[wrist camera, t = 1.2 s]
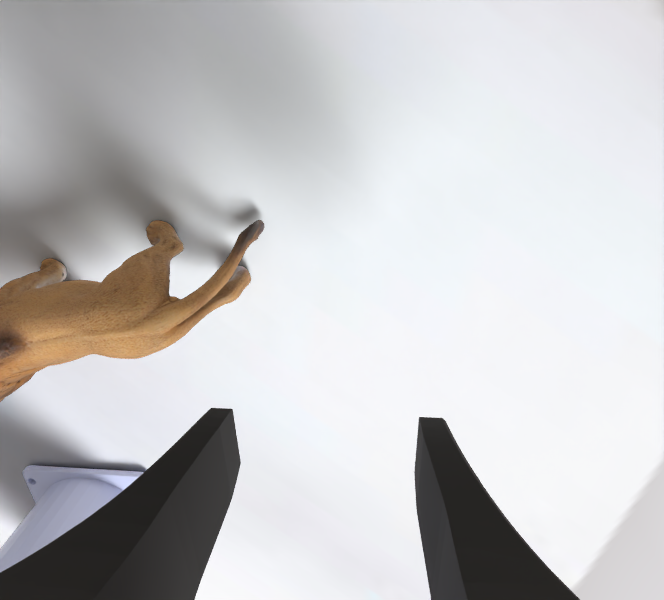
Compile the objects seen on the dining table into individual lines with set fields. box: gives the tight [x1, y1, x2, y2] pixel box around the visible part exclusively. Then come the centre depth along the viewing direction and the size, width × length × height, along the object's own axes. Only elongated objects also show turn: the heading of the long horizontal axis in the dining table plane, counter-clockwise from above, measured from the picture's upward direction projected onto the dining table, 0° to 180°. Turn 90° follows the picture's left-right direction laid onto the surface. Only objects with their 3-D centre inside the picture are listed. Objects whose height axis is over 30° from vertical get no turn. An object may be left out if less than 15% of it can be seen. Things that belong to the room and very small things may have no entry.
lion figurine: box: [0, 220, 264, 402], centre depth 18 cm, size 15×5×9 cm, turn 115°
